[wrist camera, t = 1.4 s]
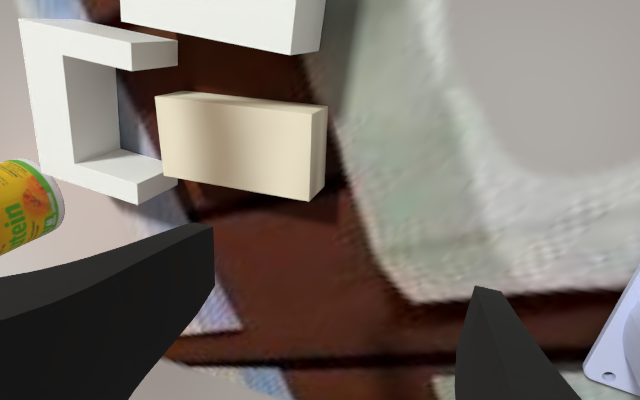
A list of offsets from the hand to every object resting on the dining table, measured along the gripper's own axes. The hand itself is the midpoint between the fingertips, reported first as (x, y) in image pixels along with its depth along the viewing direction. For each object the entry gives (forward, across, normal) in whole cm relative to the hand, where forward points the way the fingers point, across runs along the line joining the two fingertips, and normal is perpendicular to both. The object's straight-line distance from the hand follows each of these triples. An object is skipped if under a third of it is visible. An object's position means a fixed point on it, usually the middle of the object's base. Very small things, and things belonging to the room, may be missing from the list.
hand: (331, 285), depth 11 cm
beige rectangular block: (+10, +7, 0) cm, 12 cm away
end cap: (+10, +15, -1) cm, 18 cm away
